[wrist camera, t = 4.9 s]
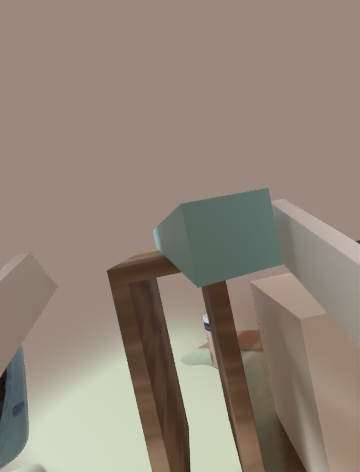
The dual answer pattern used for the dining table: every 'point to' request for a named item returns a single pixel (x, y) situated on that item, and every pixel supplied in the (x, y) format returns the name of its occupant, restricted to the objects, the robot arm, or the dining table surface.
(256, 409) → the dining table surface
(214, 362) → the beer can
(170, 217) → the bar
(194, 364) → the dining table surface
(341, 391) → the pillar
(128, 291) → the tall wooden grooved block
